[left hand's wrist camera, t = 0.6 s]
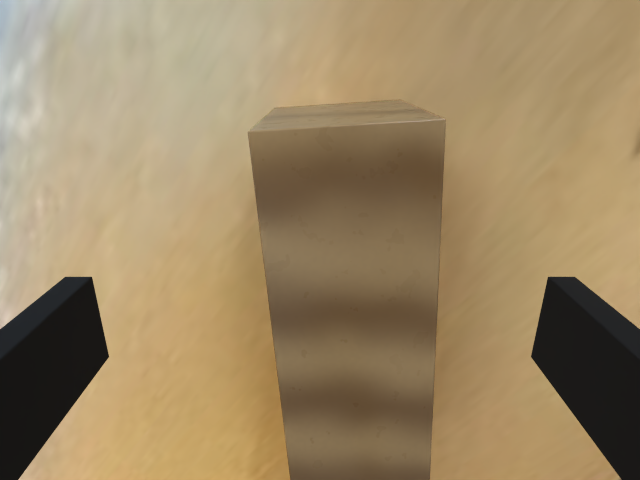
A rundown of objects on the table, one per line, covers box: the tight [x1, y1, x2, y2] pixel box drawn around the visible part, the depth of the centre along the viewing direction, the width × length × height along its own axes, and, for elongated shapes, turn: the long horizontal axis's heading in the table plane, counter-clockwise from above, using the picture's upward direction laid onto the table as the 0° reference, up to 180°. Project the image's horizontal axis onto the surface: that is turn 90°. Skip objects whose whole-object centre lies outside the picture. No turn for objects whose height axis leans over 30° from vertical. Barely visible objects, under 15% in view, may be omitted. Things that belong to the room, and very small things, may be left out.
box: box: [248, 100, 446, 480], centre depth 27 cm, size 28×8×10 cm, turn 4°
